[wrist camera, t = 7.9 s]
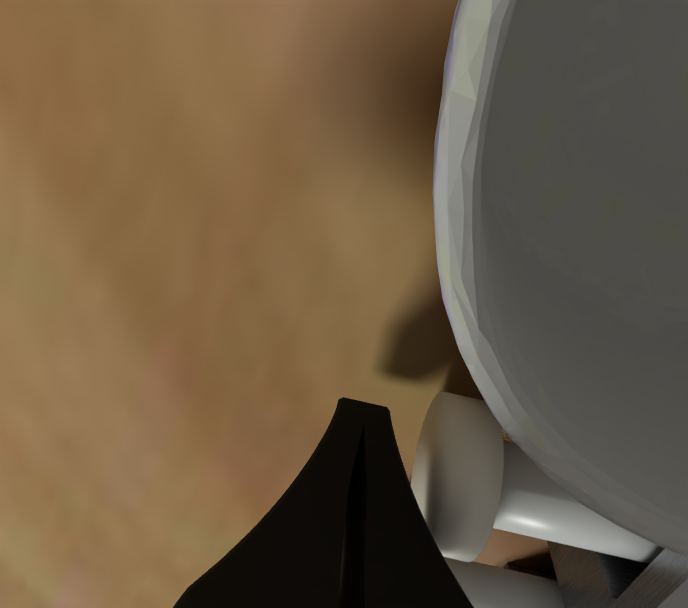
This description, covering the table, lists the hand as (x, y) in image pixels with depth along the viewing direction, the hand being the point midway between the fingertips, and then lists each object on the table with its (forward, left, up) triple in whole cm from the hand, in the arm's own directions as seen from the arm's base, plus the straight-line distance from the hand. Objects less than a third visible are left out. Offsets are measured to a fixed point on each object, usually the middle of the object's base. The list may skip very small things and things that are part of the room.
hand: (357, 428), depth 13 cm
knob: (0, -6, -1) cm, 6 cm away
